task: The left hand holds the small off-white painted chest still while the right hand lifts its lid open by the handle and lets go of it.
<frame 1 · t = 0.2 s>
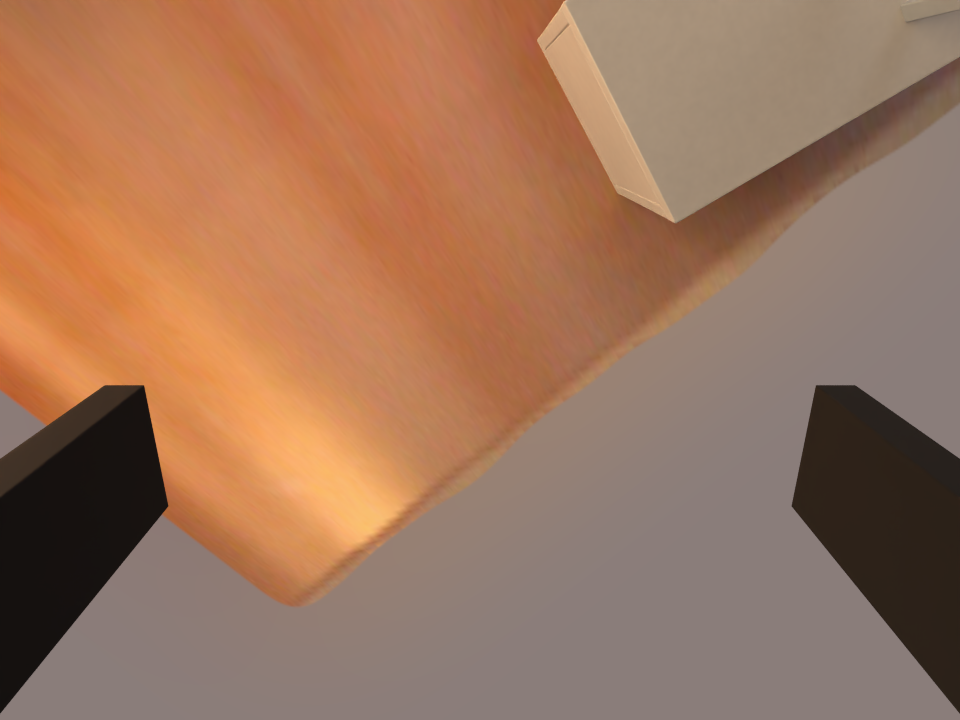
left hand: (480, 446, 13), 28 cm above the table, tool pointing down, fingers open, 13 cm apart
chest: (684, 52, 35), on the table
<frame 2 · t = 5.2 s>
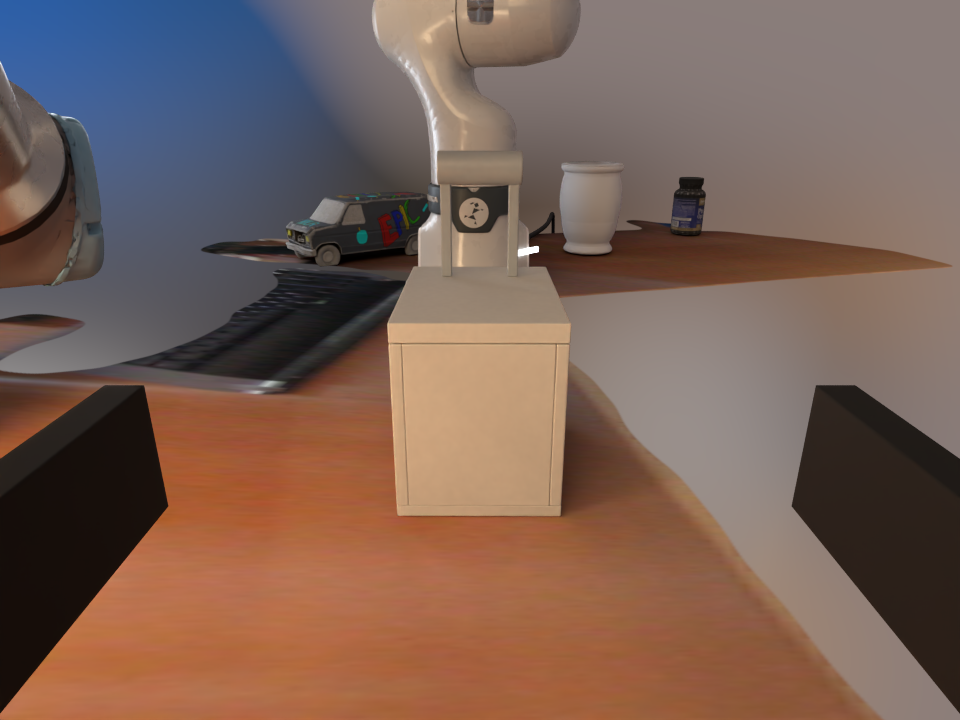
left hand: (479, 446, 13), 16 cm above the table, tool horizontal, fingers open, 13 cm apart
pill bottle: (685, 234, 131), on the table
chest: (479, 459, 44), on the table
lid: (479, 233, 39), point 16 cm above the table, hinge at 0.0°
toy van: (366, 255, 110), on the table
jar: (587, 252, 113), on the table
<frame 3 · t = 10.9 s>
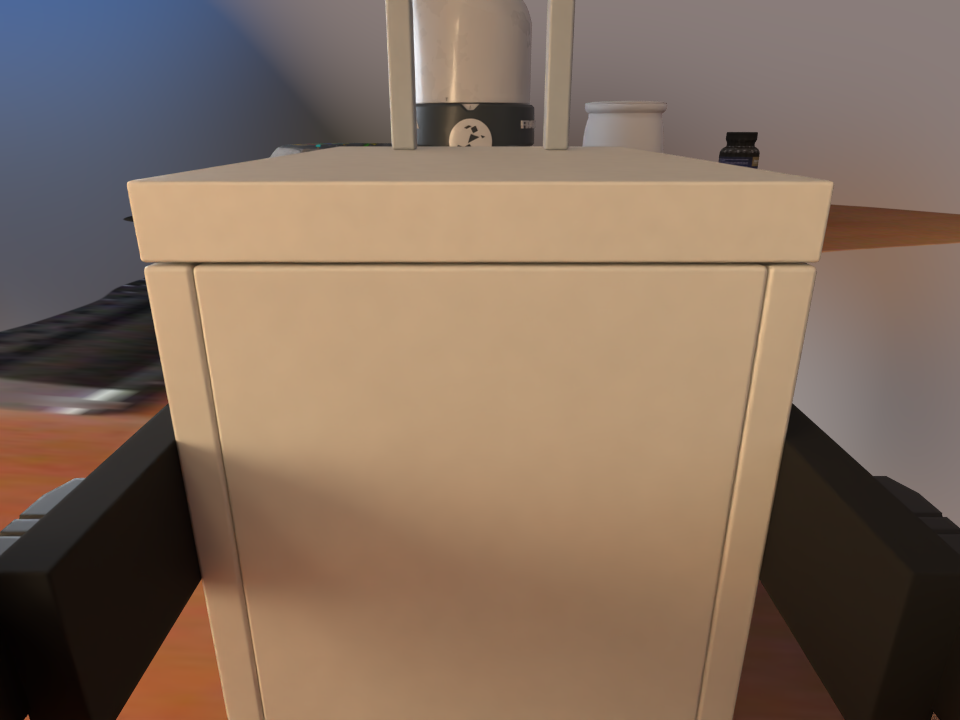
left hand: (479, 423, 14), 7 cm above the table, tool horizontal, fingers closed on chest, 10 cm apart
pill bottle: (732, 203, 106), on the table
chest: (480, 574, 19), on the table, touching left hand
toy van: (333, 223, 85), on the table
jar: (617, 219, 88), on the table
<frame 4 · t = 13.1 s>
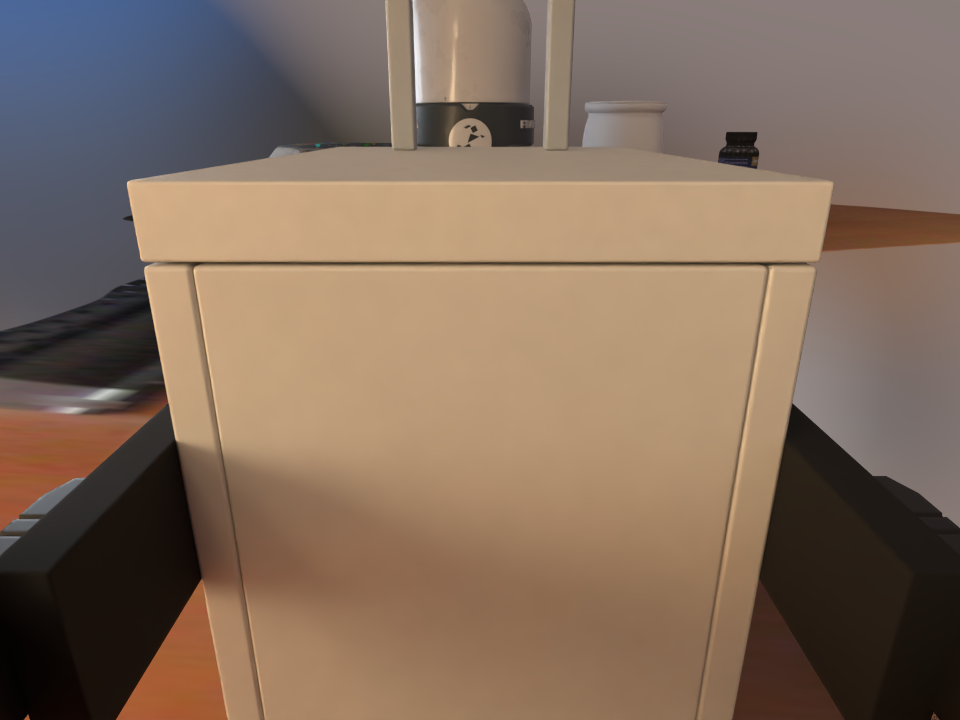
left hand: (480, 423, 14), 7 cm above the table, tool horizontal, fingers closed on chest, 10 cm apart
pill bottle: (732, 203, 106), on the table
chest: (479, 574, 19), on the table, touching left hand
toy van: (332, 223, 85), on the table
jar: (616, 219, 88), on the table
when the left hand's fingers open (7 cm above the table, at t = 20.0 s): chest stays where it is, on the table.
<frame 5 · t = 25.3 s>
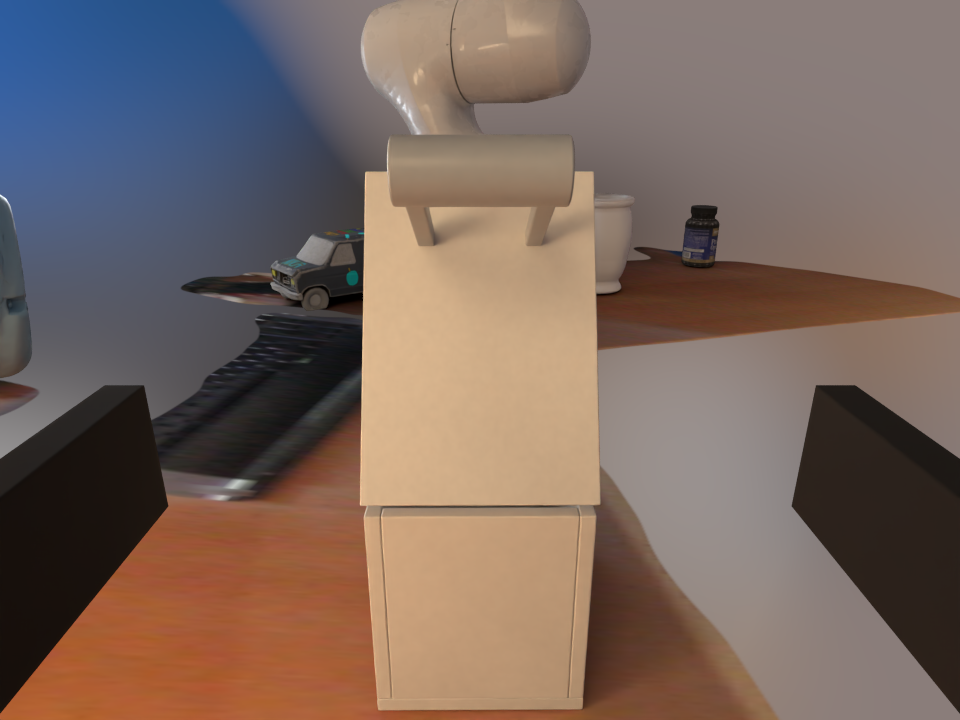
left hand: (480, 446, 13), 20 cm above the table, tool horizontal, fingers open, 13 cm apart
pill bottle: (697, 265, 124), on the table
chest: (479, 608, 36), on the table
lid: (480, 320, 23), point 20 cm above the table, hinge at 63.8°
toy van: (357, 295, 102), on the table
jar: (594, 289, 106), on the table
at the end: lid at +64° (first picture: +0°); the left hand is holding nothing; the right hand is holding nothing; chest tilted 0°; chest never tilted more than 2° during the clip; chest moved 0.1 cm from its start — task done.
